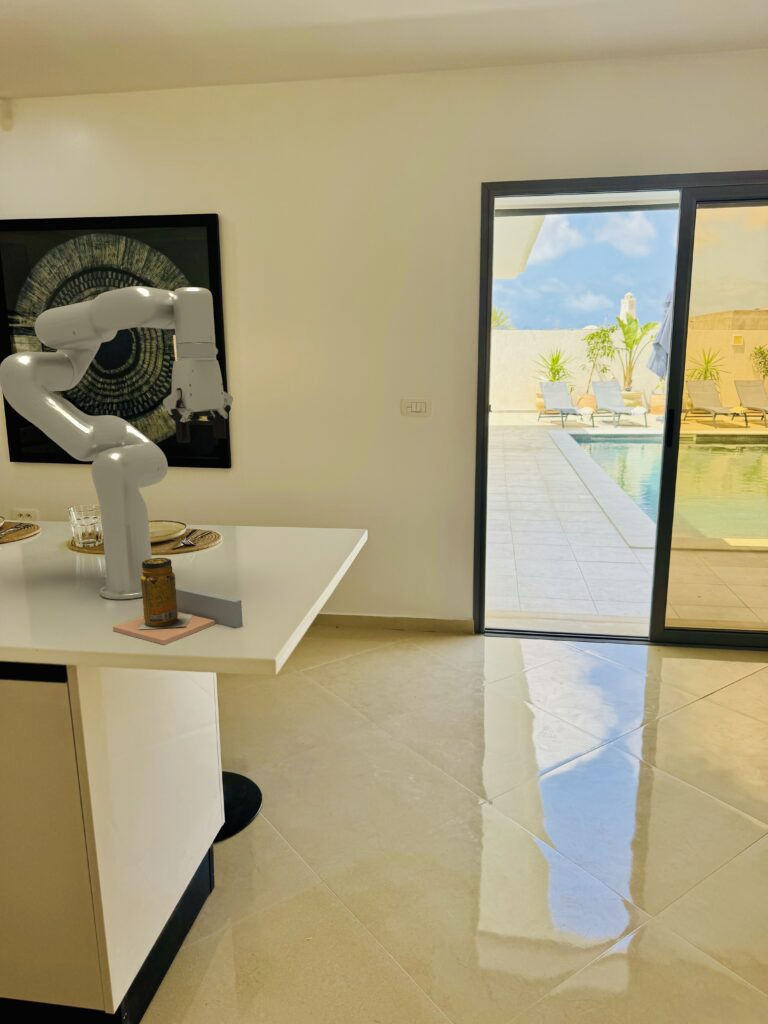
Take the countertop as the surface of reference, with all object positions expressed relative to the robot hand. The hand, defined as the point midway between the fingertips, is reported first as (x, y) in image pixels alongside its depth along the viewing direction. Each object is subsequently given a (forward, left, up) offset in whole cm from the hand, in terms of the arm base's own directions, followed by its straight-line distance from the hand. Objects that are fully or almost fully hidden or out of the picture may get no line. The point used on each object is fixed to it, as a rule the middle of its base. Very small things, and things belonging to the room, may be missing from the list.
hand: (202, 440), depth 145 cm
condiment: (+5, -16, -33) cm, 37 cm away
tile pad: (+5, -17, -33) cm, 38 cm away
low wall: (+6, -10, -33) cm, 35 cm away
